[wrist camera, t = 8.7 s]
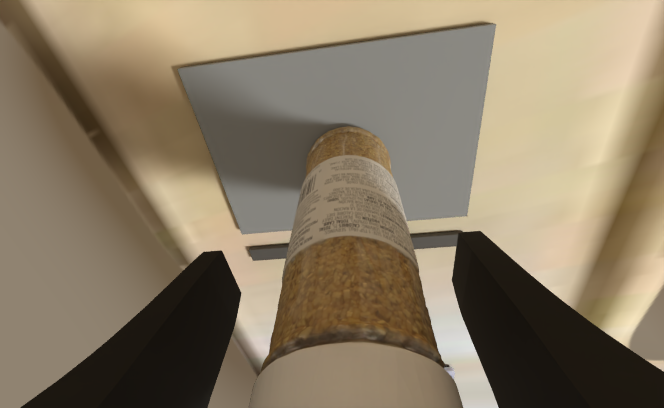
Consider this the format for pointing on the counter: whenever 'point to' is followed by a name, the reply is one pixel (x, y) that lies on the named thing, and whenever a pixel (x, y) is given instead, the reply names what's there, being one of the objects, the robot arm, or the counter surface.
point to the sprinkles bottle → (352, 293)
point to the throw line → (417, 240)
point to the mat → (346, 118)
